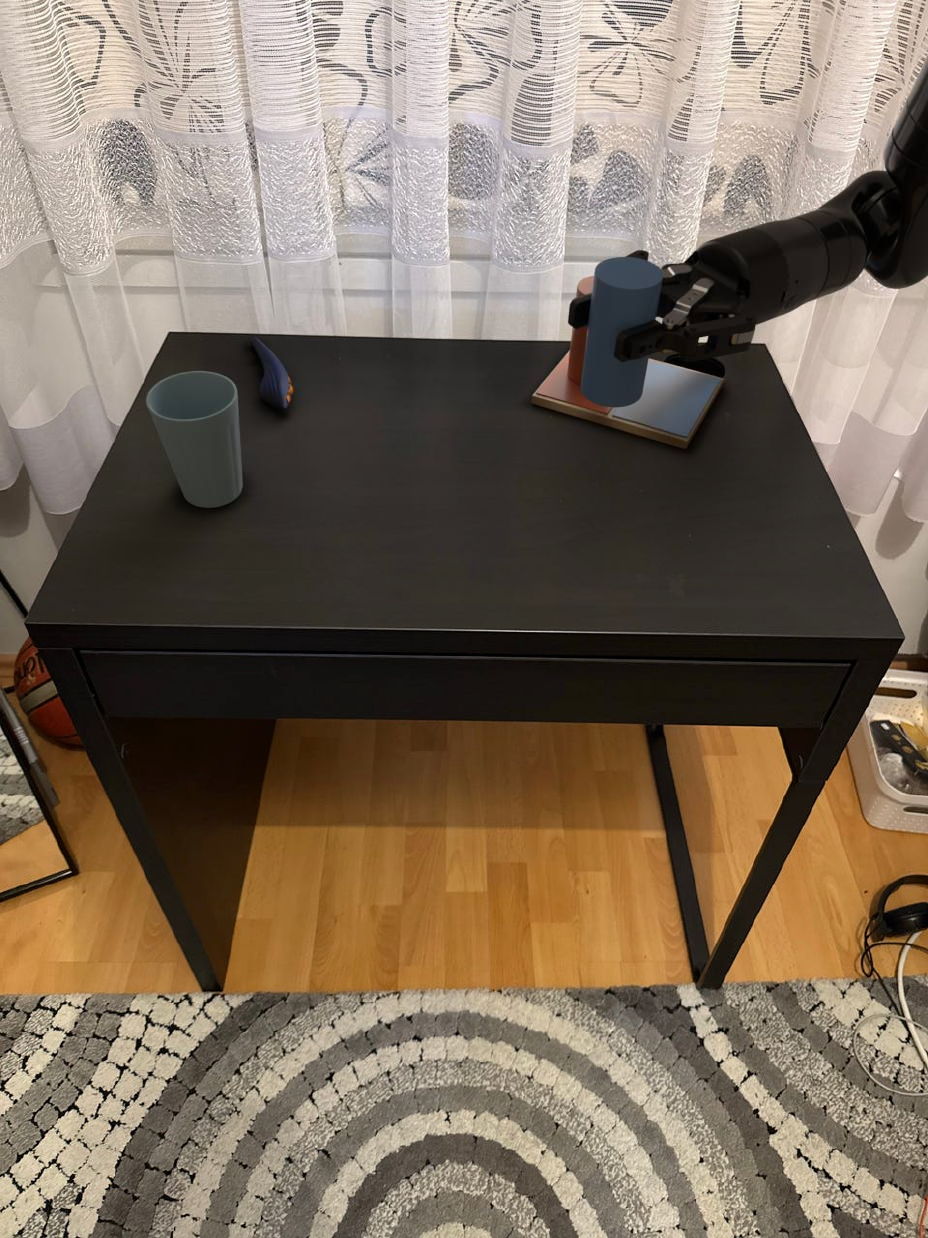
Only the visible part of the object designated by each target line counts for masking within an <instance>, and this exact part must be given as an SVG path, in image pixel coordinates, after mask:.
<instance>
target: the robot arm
mask: <svg viewBox="0 0 928 1238" xmlns="http://www.w3.org/2000/svg"><path fill="white" fill-rule="evenodd" d="M882 156H883V159H882V160H883V164H884V168H885V170H881V169H876V170H875V169H874V170H870V171H866V172H864V173H862V174H861V175H859V176H858V177H856V178H855V179H854V180H852V182H850V183H849V184H848V185H847V186H846V187H845V188H843V189H842V190H841V191H839V192H838V193H837V194H836V195H834V196H833V197H831V198H830V199H829V200H827V201H826V202H825V203H823V204H821V206H819V207H817V208H815V209H814V210H811V211H806V212H804V213H802V214H798V215H795V216H791V217H788V218H785V219H777V220H771V221H767V222H763V223H760V224H757V225H753V226H750V227H747V228H744V229H741V230H738V231H735V232H732V233H729V234H725V235H722V236H720V237H715V238H712V239H710V240H706V241H705V242H703V243H701V244H700V245H699V246H698V247H697V248H696V249H695V250H694V251H693V252H692V254H690V255H689V256H688V257H687V258H686V259H685V260H684V261H683V262H678V263H677V262H676V263H665V264H663V265H661V266H658V267H659V268H660V269H661V271H662V273H663V280H662V286H661V292H660V297H659V303H658V308H657V314H656V319H655V320H653V321H650V322H647V323H645V324H641V325H638V326H636V327H633V328H630V329H627V330H624V331H622V332H620V333H619V334H618V336H617V338H616V344H615V350H614V357H615V358H616V359H618V360H619V361H620V362H626V361H628V360H635V359H639V358H642V357H645V356H647V355H649V356H651V355H653V354H656V353H661V354H665V355H666V354H667V355H668V354H671V353H673V352H675V353H677V354H679V355H678V359H679V360H680V361H682V362H684V363H693V362H698V361H702V360H707V359H708V360H709V359H713V358H718V357H723V356H728V355H729V356H730V355H734V354H739V353H743V352H748V351H750V348H751V346H752V342H753V338H754V335H755V331H756V326H758V325H760V324H763V323H766V322H768V321H771V320H774V319H776V318H779V317H781V316H784V315H787V314H789V313H791V312H793V311H795V310H796V309H798V308H800V307H801V306H803V305H805V304H808V303H810V302H813V301H815V300H819V299H820V298H823V297H826V296H829V295H831V294H834V293H837V292H838V291H841V290H844V289H845V288H848V286H850V285H852V284H853V283H854V282H855V281H856V280H857V279H858V278H859V277H860V276H861V274H863V271H864V270H865V272H866V273H867V274H868V275H870V277H871V278H872V279H873V280H874V281H875V282H877V283H878V284H880V285H881V286H883V287H885V288H886V289H892V290H900V289H907V288H909V287H912V286H915V285H916V284H918V283H920V282H922V281H923V280H925V279H926V278H927V277H928V54H927V55H926V57H925V59H924V62H923V64H922V66H921V68H920V71H919V73H918V75H917V77H916V79H915V81H914V84H913V85H912V87H911V89H910V91H909V93H908V96H907V97H906V100H905V101H904V104H903V107H902V109H901V110H900V113H899V115H898V117H897V119H896V120H895V123H894V125H893V127H892V129H891V131H890V133H889V135H888V137H887V140H886V143H885V145H884V149H883V155H882ZM649 256H650V253H649V252H648V251H647V250H643V249H638V250H635V251H633V252H631V253H629V254H627V255H626V256H624V257H633V258H639V259H643V260H646V261H649ZM591 297H592V292H591V293H588V294H586V295H582V296H579V297H576V296H575V297H574V298H573V299H571V302H570V303H569V307H568V314H567V315H568V317H567V324H568V325H569V326H571V328H572V327H573V328H575V329H579V328H581V327H584V326H587V325H588V322H589V314H590V305H591ZM657 318H661V319H662V320H661V322H660V321H659V320H657ZM700 338H707V340H706V342H705V343H704V344H700V345H699V341H700Z"/></svg>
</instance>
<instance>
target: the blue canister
mask: <svg viewBox="0 0 928 1238" xmlns="http://www.w3.org/2000/svg"><path fill="white" fill-rule="evenodd" d="M659 267H660V266H658V265H656V264H655V263H653V262H651V261H649V260H648V261H646V260H643V259H639V258H633V257H625V256H617V257H610V258H607V259H604V260H602V261H600V262H599V263H597V264H596V266H595V267H594V271H593V272H594V273H593V276H594V280H593V289H592V297H591V305H590V314H589V322H588V330H587V338H586V347H585V355H584V363H583V372H582V380H581V392H582V394H583V395H584V396H585V397H586V398H587V399H588V400H589V401H591V402H593V403H595V404H598V405H601V406H605V407H625V406H629V405H632V404H634V403H636V402H637V401H638V400H639V399H640V398H641V396H642V393H643V387H644V382H645V376H646V370H647V365H648V359H649V358H650V355H647V356H645V357H642V358H639V359H635V360H628V361H626V362H620V361H619V360H618V359H616V358H615V357H614V350H615V344H616V338H617V336H618V334H619V333H620V332H622V331H624V330H627V329H630V328H633V327H636V326H638V325H641V324H645V323H647V322H650V321H653V320H655V319H656V320H657V317H656V314H657V308H658V303H659V297H660V292H661V286H662V280H663V273H662V271H661V269H660V268H659Z"/></svg>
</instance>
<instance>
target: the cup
mask: <svg viewBox="0 0 928 1238" xmlns="http://www.w3.org/2000/svg"><path fill="white" fill-rule="evenodd" d="M145 404H146V407H147V410H148V412H149V415H150V417H151V420H152V422H153V424H154V427H155V429H156V431H157V433H158V436H159V438H160V441H161V443H162V446H163V448H164V451H165V453H166V456H167V458H168V461H169V464H170V466H171V468H172V470H173V473H174V476H175V478H176V480H177V483H178V485H179V487H180V490H181V493H182V495H183V497H184V499H185V500H186V501H187V502H188V503H189V504H191V505H193V506H195V507H198V508H205V509H212V508H213V509H214V508H220V507H223V506H225V505H228V504H230V503H232V502H233V501H235V500H236V499H237V498H238V497H239V496H240V495H241V494H242V490H243V487H244V486H243V483H244V482H243V466H242V465H243V464H242V450H241V449H242V448H241V433H240V431H241V430H240V416H239V415H240V414H239V395H238V389H237V386H236V384H235V383H234V381H233V380H231V379H230V378H229V377H227V376H225V375H223V374H220V373H217V372H213V371H205V370H192V371H184V372H180V373H176V374H173V375H169V376H168V377H165V378H164V379H161V380H159V381H158V382H157V383H155V384H154V385H153V386H152V387H151V388H150V389H149V390H148V392H147V394H146V397H145Z"/></svg>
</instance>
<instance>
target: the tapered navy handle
mask: <svg viewBox="0 0 928 1238" xmlns="http://www.w3.org/2000/svg"><path fill="white" fill-rule="evenodd" d="M250 344H251V346H252V348H253V349H254V352H255V353H256V354H257V356H258V359H259V360H260V362H261V366H262V369H263V378H262V380H261V383H260V385H259V395H260V398H262V399H263V401H265V402H266V403H267V404H269V405H270V406H272V407H274V408H277V409H279V410H284V411H285V410H286V409H287V408H288V406H289V405H290V404H291V400H292V397H293V393H294V387H293V386H292V381H291V378H290V377H289V374H288V372H287V370H286V368H285V367H284V365H283V363H282V362H281V360H279V358H278V356H276V355H275V353H274V352H272V350H271V349H270V348H269V347H267V345H265V343H264V342H262V341H261V340H260V338H258V337H255V336H253V337H252V338H251V339H250Z"/></svg>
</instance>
